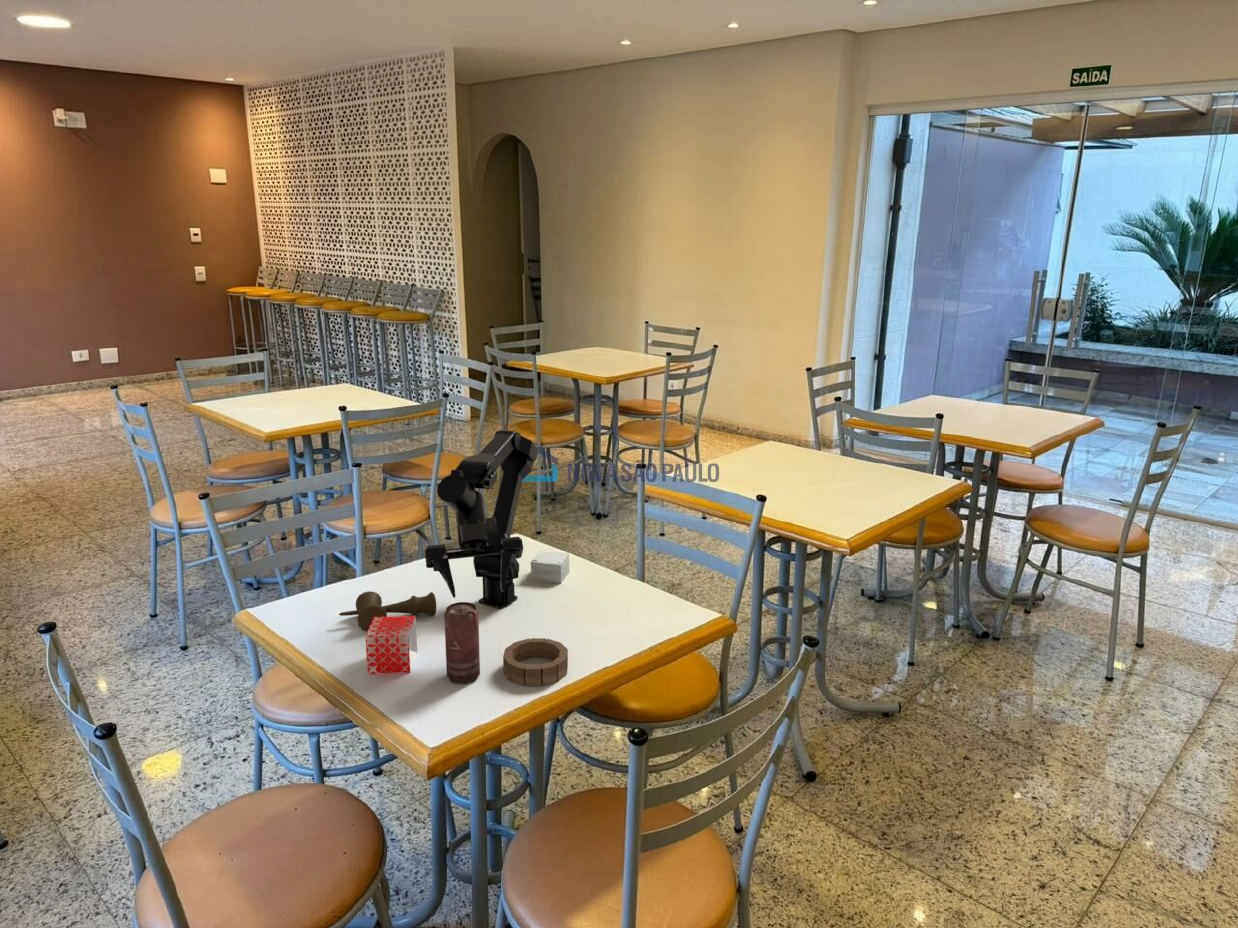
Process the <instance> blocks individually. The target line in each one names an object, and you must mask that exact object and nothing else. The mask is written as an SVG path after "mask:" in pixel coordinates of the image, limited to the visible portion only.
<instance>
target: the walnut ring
mask: <svg viewBox="0 0 1238 928" xmlns="http://www.w3.org/2000/svg"><path fill="white" fill-rule="evenodd" d="M502 657H503V658H502V659H503V662H502V667H503V671H502V672H503V675H504V676H505V677H506V679H507V680H508V681H510V682H512V683H514V684H516V685H520V686H523V687H524V686H525V687H545V686H549V685H552V684H555V683H558V682H559V681H561V680H562V679H563V678H565V677H566V676H567V674H568V670H569V669H568V668H569V661H568V660H569V650H568V648H567V647H566V646H565V645H564V644H563V643H562V642H560V641H558V640H554V639H550V638H545V637H544V638H543V637H542V638H540V637H538V638H537V637H536V638H535V637H531V638H527V639H526V638H525V639H522V640H517V641H515V642H513V643H512V644H510V645H508V646H507V647H506V648H504V653H503V656H502ZM529 659H546V660H549V661H550V662H546V663H542V664H525V663H523V662H522V661H525V660H526V661H527V660H529Z"/></svg>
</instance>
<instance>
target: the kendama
mask: <svg viewBox="0 0 1238 928" xmlns="http://www.w3.org/2000/svg"><path fill="white" fill-rule="evenodd" d="M382 604H383V601H382V596H381V595H380V594H379V593H377V592H375V591H371V590H370V591H368V590H367V591H365V592H362V593H360V594H359V595H358V597H357V598H356V600H355V609H356V610H349V611H344V612H340V613H339V614H338V616H340V617H341V616H343V617H345V616H357V624H358V627H359V628H360V630H361V631H364V632H366V633H367V631H368V629H369V627H370V625H371V623H372V621H373V619H374V617H388V614H389V613H391V614H392V613H395V614H396V613H398V614H410V615H412V616H417V615H420V614H427V615H430V616H432V617H433V616H435V615H436V613H437V598H436V595H435V593H434V592H433V591H431V592H429V593H428V594H427V595H423V596H415V595H412V596H411V597H410V598H409V599H406V600H403V601H399V602H395V603H391V604H386V605H382Z"/></svg>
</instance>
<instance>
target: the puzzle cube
mask: <svg viewBox="0 0 1238 928" xmlns="http://www.w3.org/2000/svg"><path fill="white" fill-rule="evenodd" d="M416 616H417V615H416ZM416 616H413V615H412V616H410V615H409V616H407V615H406V616H387V617H374V619H373V621H372V623H371V625H370V627H369V629H368V631H367V632H366V633H365V636H364V638H365V639H364V640H365V651H366V655H365V656H366V666H367V667H366V669H367V674H368V675H369V674H371V675H373V674H376V675H377V674H411V672H412V669H413V667H414V664H415V660H416V659H417V658H416V657H417V655H418V640H417V637H418V636H417V619H416Z"/></svg>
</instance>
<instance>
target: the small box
mask: <svg viewBox="0 0 1238 928" xmlns="http://www.w3.org/2000/svg"><path fill="white" fill-rule="evenodd" d="M569 573H570V553H565V552H555V551H554V552H553V551H543V550H539V552H538V553H537V554H536V555H535V556H534V557H533V559H532V560H531V561H530V581H531V582H540V583H548V584H549V583H550V584H557V585H558V584H562V583H563V582H564V581H565V579H566V578H567V576H568V575H569Z"/></svg>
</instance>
